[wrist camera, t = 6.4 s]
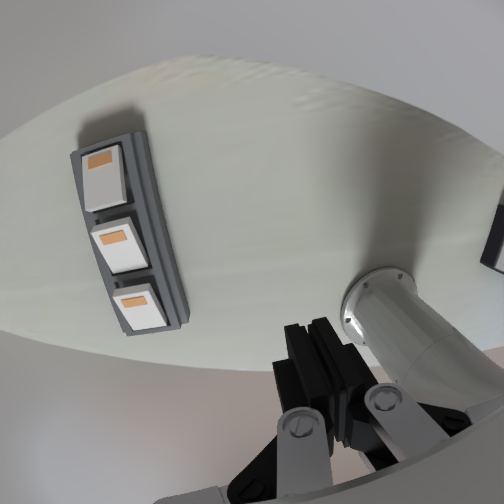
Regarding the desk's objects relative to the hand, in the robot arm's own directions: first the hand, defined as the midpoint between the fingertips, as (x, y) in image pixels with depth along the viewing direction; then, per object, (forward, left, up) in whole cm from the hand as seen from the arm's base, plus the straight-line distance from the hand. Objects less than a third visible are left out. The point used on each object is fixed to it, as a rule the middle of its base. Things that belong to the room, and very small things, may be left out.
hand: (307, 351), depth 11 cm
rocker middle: (+8, +12, -21) cm, 25 cm away
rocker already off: (+2, +16, -21) cm, 26 cm away
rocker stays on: (+14, +8, -21) cm, 27 cm away
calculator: (-34, -34, -26) cm, 55 cm away
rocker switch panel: (+8, +12, -25) cm, 29 cm away
